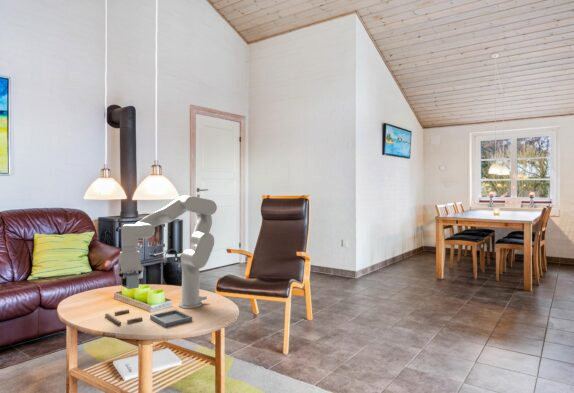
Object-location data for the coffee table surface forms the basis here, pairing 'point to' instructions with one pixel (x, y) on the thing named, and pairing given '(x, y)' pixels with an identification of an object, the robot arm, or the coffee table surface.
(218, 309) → the coffee table surface
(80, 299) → the coffee table surface
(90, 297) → the coffee table surface
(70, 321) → the coffee table surface
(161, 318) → the tray
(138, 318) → the set of brown sticks
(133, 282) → the grey rectangular block
